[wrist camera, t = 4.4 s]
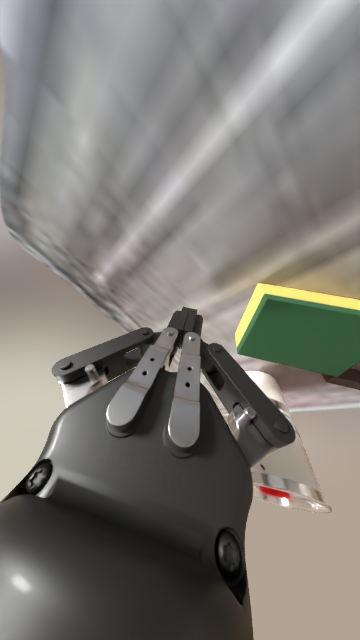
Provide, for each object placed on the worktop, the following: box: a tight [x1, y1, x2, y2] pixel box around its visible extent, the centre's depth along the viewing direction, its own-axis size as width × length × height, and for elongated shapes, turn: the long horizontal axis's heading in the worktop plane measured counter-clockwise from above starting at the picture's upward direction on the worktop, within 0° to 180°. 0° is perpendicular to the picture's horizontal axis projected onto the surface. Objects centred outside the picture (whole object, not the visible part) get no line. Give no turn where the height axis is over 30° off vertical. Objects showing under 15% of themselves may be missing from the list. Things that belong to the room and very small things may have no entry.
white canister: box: [231, 371, 332, 513], centre depth 19 cm, size 10×8×12 cm
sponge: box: [235, 283, 360, 377], centre depth 14 cm, size 7×10×3 cm
